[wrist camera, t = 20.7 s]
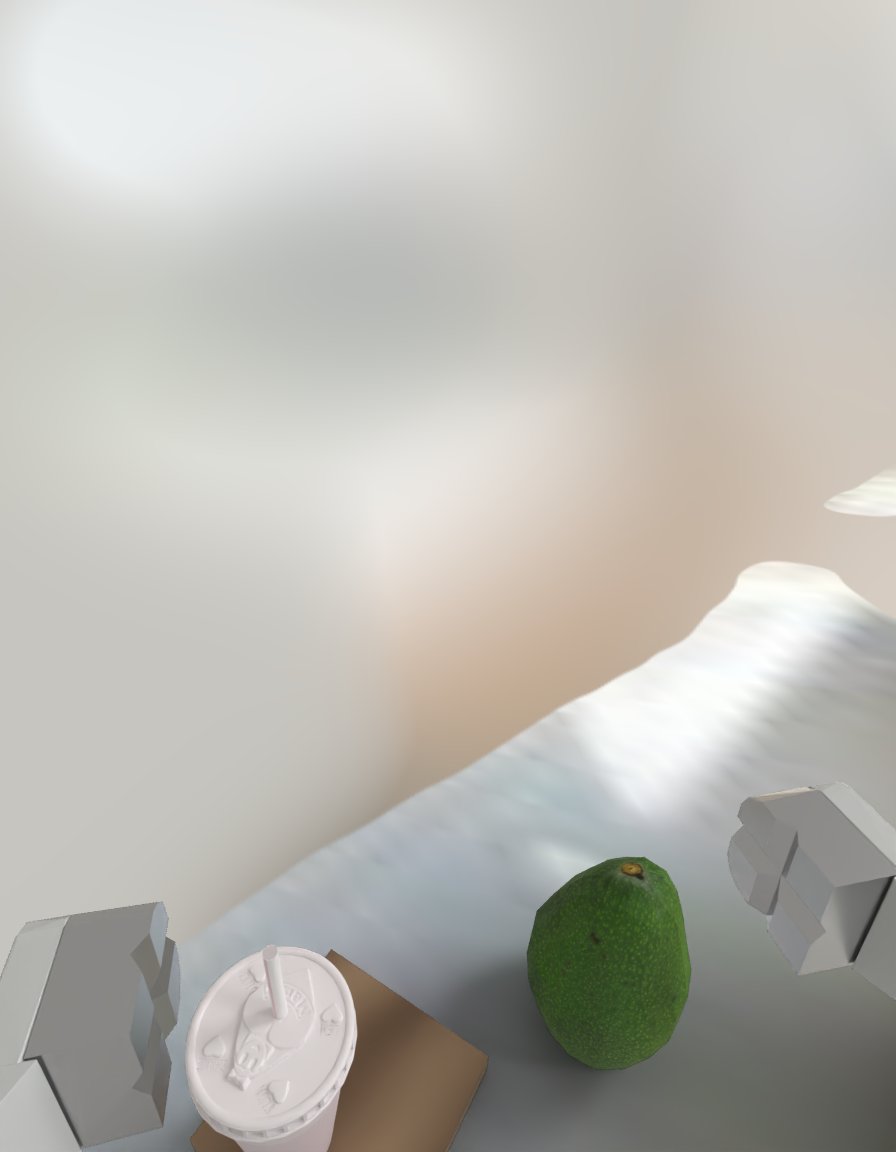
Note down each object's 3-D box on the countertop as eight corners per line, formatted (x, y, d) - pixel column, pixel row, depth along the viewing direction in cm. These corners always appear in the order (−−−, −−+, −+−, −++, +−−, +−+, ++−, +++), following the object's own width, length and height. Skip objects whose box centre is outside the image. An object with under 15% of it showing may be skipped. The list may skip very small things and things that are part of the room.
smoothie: (388, 1093, 32) (386, 927, 24) (308, 1262, 27) (276, 1118, 19) (279, 1026, 34) (247, 856, 27) (187, 1171, 29) (115, 1012, 22)
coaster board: (486, 1069, 34) (488, 1056, 33) (370, 1316, 27) (369, 1307, 26) (332, 963, 38) (331, 949, 37) (195, 1151, 31) (189, 1139, 30)
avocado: (682, 992, 38) (741, 863, 31) (635, 1136, 32) (695, 1014, 26) (553, 915, 41) (583, 784, 35) (491, 1033, 36) (512, 903, 29)
